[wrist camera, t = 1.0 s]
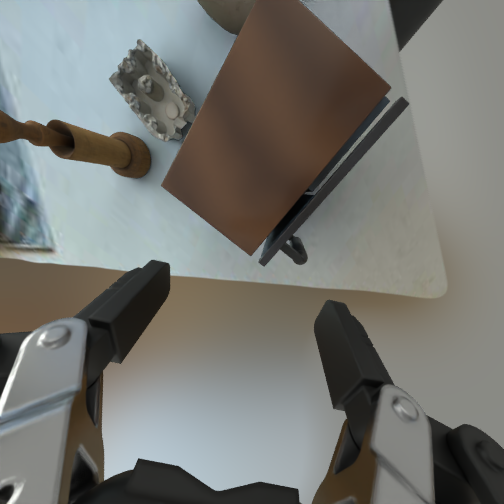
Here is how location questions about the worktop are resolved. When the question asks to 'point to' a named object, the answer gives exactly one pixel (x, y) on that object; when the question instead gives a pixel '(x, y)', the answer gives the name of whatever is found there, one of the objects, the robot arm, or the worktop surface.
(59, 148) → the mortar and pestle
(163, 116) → the grey lumpy piece
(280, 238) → the cupboard
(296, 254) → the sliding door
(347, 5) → the worktop surface
